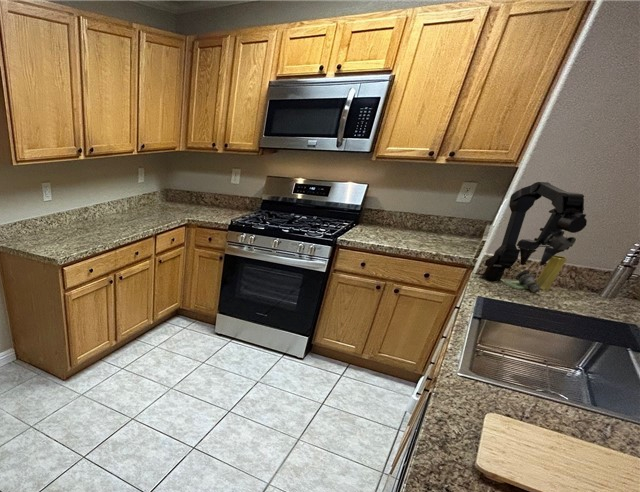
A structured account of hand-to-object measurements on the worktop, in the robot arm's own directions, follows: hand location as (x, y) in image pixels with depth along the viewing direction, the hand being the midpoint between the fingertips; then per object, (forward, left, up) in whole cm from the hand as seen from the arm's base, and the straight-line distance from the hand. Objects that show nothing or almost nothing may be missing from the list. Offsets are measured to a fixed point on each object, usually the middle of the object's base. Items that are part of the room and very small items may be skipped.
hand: (531, 264), depth 176 cm
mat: (-9, +12, -13) cm, 20 cm away
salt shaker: (-10, +12, -8) cm, 18 cm away
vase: (-5, +21, -13) cm, 25 cm away
